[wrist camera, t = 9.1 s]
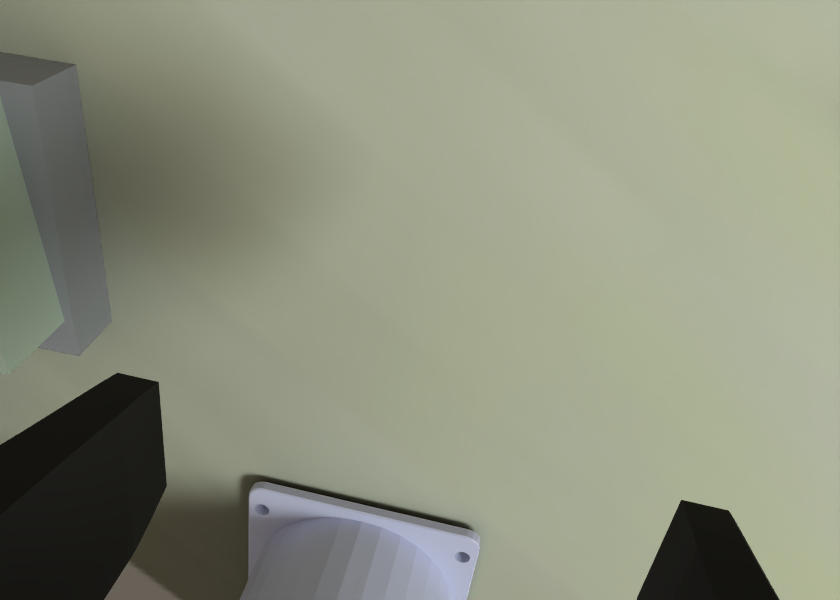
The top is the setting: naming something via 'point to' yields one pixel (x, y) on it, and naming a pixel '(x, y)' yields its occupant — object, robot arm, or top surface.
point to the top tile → (21, 266)
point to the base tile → (59, 190)
